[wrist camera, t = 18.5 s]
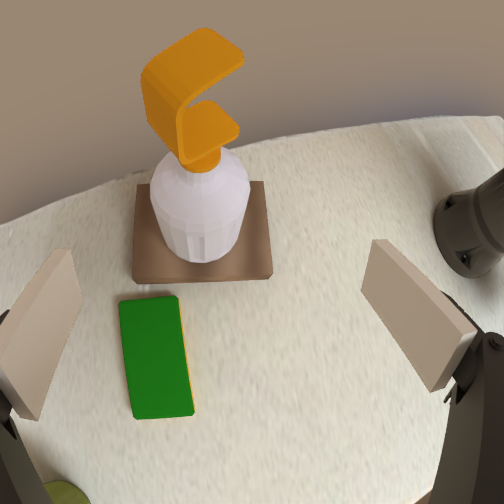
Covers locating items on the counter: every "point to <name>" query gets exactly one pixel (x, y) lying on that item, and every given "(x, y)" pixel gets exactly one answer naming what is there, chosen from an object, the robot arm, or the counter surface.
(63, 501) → the plant pot
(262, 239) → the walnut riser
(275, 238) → the counter surface
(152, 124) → the soap bottle
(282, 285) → the counter surface
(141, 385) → the dish sponge
